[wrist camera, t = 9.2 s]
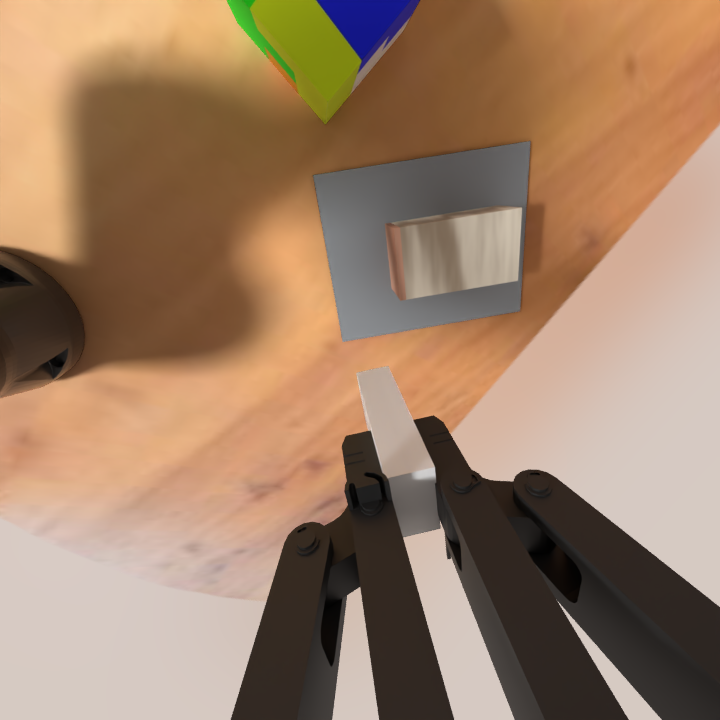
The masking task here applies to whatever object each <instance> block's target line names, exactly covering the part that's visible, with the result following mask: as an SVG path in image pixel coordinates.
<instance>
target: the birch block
mask: <svg viewBox="0 0 720 720" xmlns="http://www.w3.org/2000/svg"><path fill="white" fill-rule="evenodd" d="M521 218H522V207H511V206H501V205H497V206H490V207H484V208H478V209H472V210H466V211H460V212H453V213H447V214H441V215H435V216H429V217H423V218H417V219H410V220H404V221H398V222H392V223H386V224H385V231H386V240H387V250H388V260H389V269H390V279H391V288H392V290H393V291H394V292H395V294H396V295H397V297H398V298H399V299H400V301H402V300H408V299H414V298H419V297H425V296H431V295H437V294H443V293H449V292H455V291H461V290H467V289H472V288H478V287H484V286H490V285H496V284H502V283H508V282H514V281H518V271H519V254H520V236H521Z"/></svg>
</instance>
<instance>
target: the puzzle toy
mask: <svg viewBox="0 0 720 720" xmlns="http://www.w3.org/2000/svg"><path fill="white" fill-rule="evenodd" d="M419 1H420V0H227V2H228V4H229V6H230V8H231V10H232V12H233V14H234V16H235V19H236V21H237V23H238V24H239V25H240V26H241V27H242V29H243V30H244V31H245V32H246V33H247V34H248V36H249V37H250V38H251V39H252V40H253V41H254V43H255V44H256V45H257V46H258V47H259V48H260V49H261V51H262V52H263V53H264V54H265V55H266V56H267V58H268V59H269V60H270V61H271V62H272V63H273V65H274V66H275V67H276V68H277V69H278V70H279V72H280V73H281V74H282V75H283V76H284V77H285V79H286V80H287V81H288V82H289V83H290V84H291V85H292V87H293V88H294V89H295V90H296V91H297V92H298V94H299V95H300V96H301V97H302V98H303V99H304V101H305V102H306V103H307V104H308V105H309V106H310V108H311V109H312V110H313V111H314V112H315V113H316V115H317V116H318V117H319V118H320V119H321V120H322V121H323V123H324V124H325V125H326V123H327V122H328V121H329V120H330V119H331V117H332V116H333V115H334V114H335V113H336V111H337V110H338V109H339V108H340V107H341V105H342V104H343V103H344V102H345V101H346V99H347V98H348V97H349V96H350V95H351V93H352V92H353V91H354V90H355V89H356V87H357V86H358V85H359V84H360V83H361V81H362V80H363V79H364V78H365V76H366V75H367V74H368V73H369V72H370V70H371V69H372V68H373V67H374V66H375V64H376V63H377V62H378V61H379V60H380V58H381V57H382V56H383V55H384V54H385V52H386V51H387V50H388V49H389V48H390V46H391V45H392V44H393V43H394V42H395V40H396V39H397V38H398V37H399V36H400V34H401V33H402V32H403V31H404V29H405V27H406V25H407V23H408V21H409V19H410V18H411V16H412V14H413V12H414V10H415V8H416V7H417V5H418V3H419Z"/></svg>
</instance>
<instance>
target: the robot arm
mask: <svg viewBox="0 0 720 720" xmlns="http://www.w3.org/2000/svg"><path fill="white" fill-rule="evenodd" d="M83 347H84V328H83V323H82V320H81V317H80V314H79V312H78V310H77V308H76V306H75V304H74V303H73V301H72V300H71V298H70V297H69V296H68V294H67V293H66V292H65V291H64V289H63V288H62V287H61V286H60V285H59V284H58V283H57V282H56V281H55V280H54V279H53V278H51V277H50V276H49V275H48V274H46V273H45V272H44V271H42V270H41V269H40V268H38V267H37V266H35V265H33V264H32V263H30V262H28V261H26V260H24V259H22V258H20V257H18V256H15V255H13V254H10V253H7V252H4V251H0V398H3V397H7V396H11V395H14V394H18V393H22V392H26V391H29V390H33V389H37V388H40V387H43V386H45V385H47V384H49V383H51V382H53V381H55V380H56V379H58V378H59V377H60V376H62V375H63V374H64V373H66V372H67V371H69V370H70V369H71V368H72V367H73V366H74V365H75V364H76V362H77V361H78V359H79V358H80V356H81V353H82V350H83ZM356 374H357V379H358V384H359V389H360V394H361V400H362V405H363V410H364V415H365V420H366V424H367V428H368V431H366V432H362V433H357V434H353V435H348V436H346V437H345V439H344V442H343V444H342V450H343V457H344V464H345V471H346V478H347V482H346V484H345V495H346V499H347V502H348V506H347V508H346V509H345V511H344V512H343V513H342V514H341V516H340V517H338V518H337V519H335V520H334V521H332V522H330V523H329V524H327V525H325V526H323V525H322V524H320V523H316V522H309V523H304V524H302V525H300V526H298V527H296V528H295V529H294V530H293V531H292V532H291V533H290V534H289V535H288V537H287V539H286V541H285V543H284V546H283V549H282V553H281V556H280V559H279V563H278V566H277V569H276V573H275V576H274V579H273V582H272V586H271V589H270V592H269V596H268V599H267V602H266V605H265V609H264V612H263V615H262V619H261V622H260V626H259V629H258V632H257V635H256V638H255V642H254V645H253V648H252V652H251V655H250V658H249V662H248V665H247V668H246V671H245V675H244V678H243V681H242V685H241V688H240V692H239V694H238V698H237V701H236V704H235V708H234V711H233V714H232V717H231V720H332V716H333V708H334V699H335V691H336V683H337V674H338V666H339V657H340V650H341V641H342V633H343V625H344V616H345V608H346V600H347V595H348V594H349V593H351V592H353V591H354V590H356V589H357V588H359V587H361V594H362V602H363V609H364V615H365V623H366V630H367V636H368V644H369V651H370V658H371V665H372V672H373V679H374V686H375V693H376V700H377V707H378V715H379V720H454V717H453V714H452V710H451V707H450V703H449V699H448V696H447V692H446V689H445V685H444V682H443V678H442V675H441V671H440V667H439V664H438V660H437V657H436V653H435V650H434V646H433V643H432V639H431V635H430V632H429V629H428V625H427V621H426V618H425V614H424V611H423V607H422V604H421V600H420V597H419V593H418V590H417V586H416V583H415V579H414V575H413V572H412V568H411V564H410V561H409V558H408V554H407V551H406V547H405V543H404V540H403V537H407V536H411V535H415V534H419V533H424V532H428V531H432V530H436V529H440V521H441V524H442V526H443V528H444V531H445V541H446V552H447V558H448V559H451V557H452V560H453V563H454V565H455V568H456V570H457V573H458V575H459V578H460V580H461V583H462V586H463V588H464V591H465V593H466V596H467V598H468V601H469V604H470V606H471V609H472V611H473V614H474V616H475V619H476V621H477V624H478V627H479V629H480V631H481V634H482V637H483V639H484V642H485V644H486V647H487V650H488V652H489V655H490V657H491V660H492V662H493V665H494V667H495V670H496V673H497V675H498V678H499V680H500V683H501V685H502V688H503V691H504V693H505V696H506V698H507V701H508V703H509V706H510V708H511V711H512V714H513V716H514V719H515V720H629V719H628V718H627V716H626V715H625V713H624V711H623V710H622V708H621V706H620V705H619V703H618V701H617V700H616V698H615V696H614V695H613V693H612V691H611V690H610V688H609V686H608V685H607V683H606V681H605V680H604V678H603V677H602V675H601V673H600V671H599V670H598V668H597V666H596V665H595V663H594V662H593V660H592V658H591V656H590V655H589V653H588V651H587V650H586V648H585V646H584V645H583V643H582V642H581V640H580V638H579V637H578V635H577V633H576V632H575V630H574V628H573V627H572V625H571V624H570V622H569V620H568V618H567V617H566V615H565V613H564V612H563V610H562V608H561V607H560V605H559V603H560V604H561V605H562V606H563V607H564V609H565V610H566V611H567V612H568V613H569V614H570V616H571V617H572V618H573V619H574V620H575V621H576V622H577V623H578V625H579V626H580V627H581V628H582V629H583V630H584V631H585V632H586V634H587V635H588V636H589V637H590V638H591V639H592V641H593V642H594V643H595V644H596V645H597V646H598V647H599V648H600V650H601V651H602V652H603V653H604V654H605V655H606V657H607V658H608V659H609V660H610V661H611V662H612V663H613V664H614V665H615V667H616V668H617V669H618V670H619V671H620V672H621V674H622V675H623V676H624V677H625V678H626V679H627V680H628V681H629V683H630V684H631V685H632V686H633V687H634V688H635V690H636V691H637V692H638V693H639V694H640V695H641V696H642V698H643V699H644V700H645V701H646V702H647V703H648V704H649V705H650V707H651V708H652V709H653V710H654V711H655V712H656V713H657V715H658V716H659V717H660V718H661V719H662V720H720V607H719V606H718V605H716V604H715V603H714V602H712V601H711V600H710V599H709V598H708V597H706V596H705V595H704V594H702V593H701V592H700V591H699V590H697V589H696V588H695V587H693V586H692V585H691V584H690V583H689V582H687V581H686V580H685V579H684V578H682V577H681V576H680V575H678V574H677V573H676V572H675V571H673V570H672V569H671V568H670V567H668V566H667V565H666V564H664V563H663V562H662V561H661V560H659V559H658V558H657V557H656V556H654V555H653V554H652V553H651V552H649V551H648V550H647V549H646V548H644V547H643V546H642V545H641V544H639V543H638V542H637V541H635V540H634V539H633V538H632V537H630V536H629V535H628V534H626V533H625V532H624V531H623V530H622V529H620V528H619V527H618V526H616V525H615V524H614V523H613V522H611V521H610V520H609V519H607V518H606V517H605V516H604V515H603V514H601V513H600V512H599V511H597V510H596V509H595V508H594V507H592V506H591V505H590V504H589V503H587V502H586V501H585V500H584V499H582V498H581V497H580V496H579V495H577V494H576V493H575V492H573V491H572V490H571V489H570V488H568V487H567V486H566V485H565V484H563V483H562V482H561V481H559V480H558V479H557V478H556V477H554V476H552V475H551V474H549V473H547V472H544V471H540V470H525V471H522V472H520V473H519V474H517V475H516V476H515V479H514V481H513V482H510V481H493V480H488V479H485V478H482V477H481V476H480V475H479V474H478V473H477V472H475V471H473V470H471V468H470V467H469V465H468V464H467V462H466V460H465V459H464V457H463V455H462V454H461V452H460V450H459V448H458V446H457V445H456V443H455V441H454V440H453V438H452V436H451V434H450V433H449V431H448V429H447V428H446V426H445V424H444V422H442V421H441V420H439V419H438V418H437V417H435V416H429V417H425V418H420V419H416V420H413V419H412V416H411V414H410V412H409V410H408V408H407V406H406V403H405V401H404V399H403V397H402V395H401V392H400V390H399V388H398V386H397V384H396V382H395V379H394V377H393V375H392V373H391V371H390V369H389V366H386V367H381V368H376V369H372V370H367V371H362V372H358V373H356ZM557 601H558V602H559V603H558V602H557Z"/></svg>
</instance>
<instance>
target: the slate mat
mask: <svg viewBox="0 0 720 720" xmlns="http://www.w3.org/2000/svg"><path fill="white" fill-rule="evenodd" d="M529 157H530V141H528V142H521V143H515V144H508V145H502V146H496V147H489V148H483V149H477V150H470V151H464V152H457V153H451V154H445V155H438V156H432V157H426V158H419V159H413V160H407V161H400V162H394V163H387V164H381V165H375V166H368V167H362V168H356V169H349V170H343V171H337V172H330V173H324V174H317V175H313V177H314V183H315V189H316V194H317V200H318V206H319V211H320V217H321V222H322V228H323V234H324V239H325V245H326V250H327V256H328V262H329V267H330V273H331V279H332V284H333V290H334V295H335V301H336V307H337V312H338V318H339V324H340V329H341V335H342V340H343V342H345V341H350V340H356V339H362V338H368V337H374V336H379V335H385V334H391V333H397V332H403V331H408V330H414V329H420V328H426V327H432V326H437V325H443V324H449V323H455V322H461V321H466V320H472V319H478V318H484V317H489V316H495V315H501V314H507V313H513V312H518V311H520V304H521V288H522V271H523V255H524V239H525V222H526V206H527V190H528V174H529ZM497 205H501V206H511V207H522V218H521V236H520V254H519V271H518V281H514V282H508V283H502V284H496V285H490V286H484V287H478V288H472V289H467V290H461V291H455V292H449V293H443V294H437V295H431V296H425V297H419V298H414V299H408V300H402V301H400V299H399V298H398V297H397V295H396V294H395V292H394V291H393V290H392V288H391V279H390V269H389V260H388V250H387V240H386V231H385V224H386V223H392V222H398V221H404V220H410V219H417V218H423V217H429V216H435V215H441V214H447V213H453V212H460V211H466V210H472V209H478V208H484V207H490V206H497Z"/></svg>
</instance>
